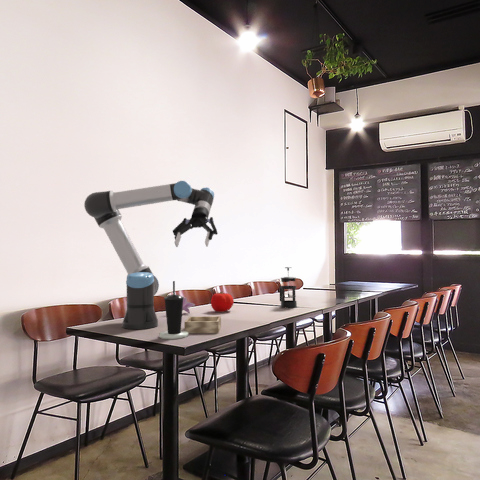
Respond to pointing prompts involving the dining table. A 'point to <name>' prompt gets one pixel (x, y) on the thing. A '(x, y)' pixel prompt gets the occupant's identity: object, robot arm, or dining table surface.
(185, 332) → the disc
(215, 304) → the tomato
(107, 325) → the dining table surface
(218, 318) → the crate
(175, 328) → the drinking cup
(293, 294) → the french press
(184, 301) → the lily
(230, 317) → the dining table surface
